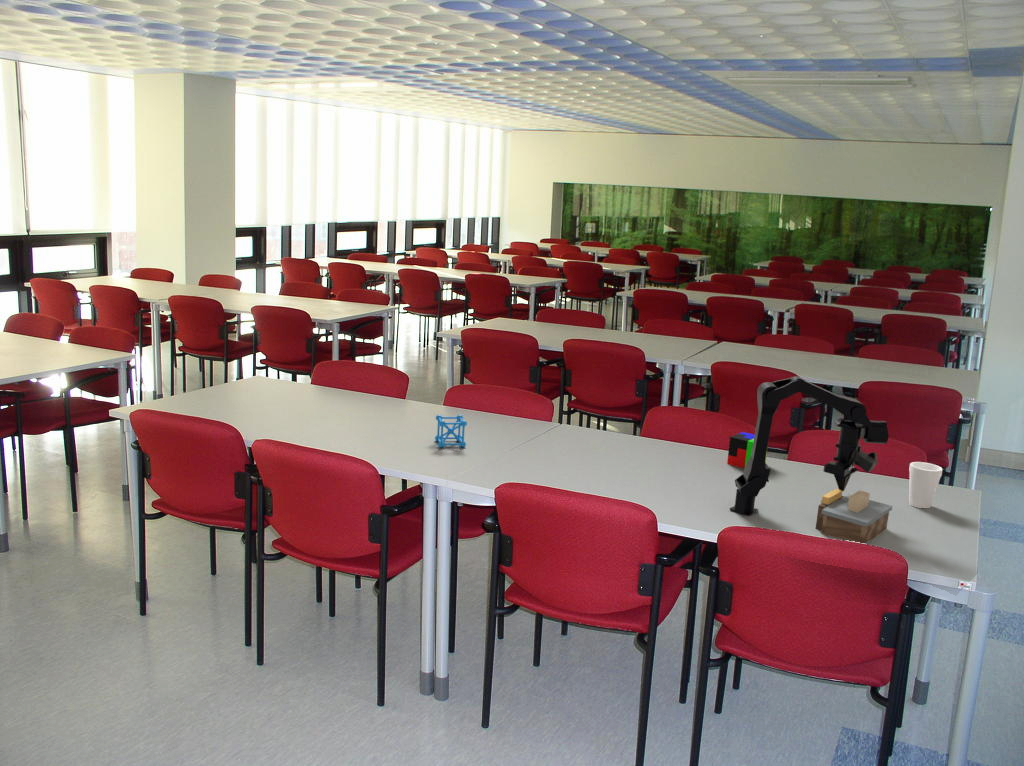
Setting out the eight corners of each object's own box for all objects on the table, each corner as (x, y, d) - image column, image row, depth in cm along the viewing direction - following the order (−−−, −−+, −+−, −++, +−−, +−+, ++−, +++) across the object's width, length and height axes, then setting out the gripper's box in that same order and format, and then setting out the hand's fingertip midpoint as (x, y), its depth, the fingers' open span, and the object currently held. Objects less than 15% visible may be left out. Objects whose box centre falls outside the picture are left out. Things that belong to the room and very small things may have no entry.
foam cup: (897, 502, 290) (904, 464, 287) (914, 498, 295) (920, 460, 292) (925, 512, 282) (932, 472, 279) (941, 507, 287) (948, 468, 284)
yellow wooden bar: (828, 504, 261) (829, 498, 261) (821, 502, 263) (822, 496, 262) (841, 496, 269) (842, 490, 268) (834, 495, 270) (835, 488, 270)
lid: (866, 526, 250) (869, 509, 248) (809, 510, 260) (812, 493, 259) (891, 509, 264) (894, 493, 263) (836, 494, 275) (839, 478, 274)
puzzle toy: (739, 458, 328) (742, 431, 326) (765, 464, 322) (768, 438, 320) (727, 463, 321) (730, 436, 318) (753, 470, 315) (756, 443, 312)
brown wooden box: (862, 546, 252) (866, 521, 250) (811, 530, 261) (815, 507, 259) (886, 529, 266) (890, 505, 264) (837, 515, 275) (840, 492, 273)
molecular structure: (438, 448, 319) (439, 421, 317) (434, 440, 328) (435, 413, 326) (466, 448, 321) (467, 421, 319) (461, 440, 331) (462, 413, 329)
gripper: (864, 453, 256) (856, 505, 259) (887, 442, 270) (879, 491, 273) (826, 444, 263) (819, 495, 266) (850, 433, 277) (843, 482, 280)
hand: (841, 491), depth 271 cm, fingers closed
